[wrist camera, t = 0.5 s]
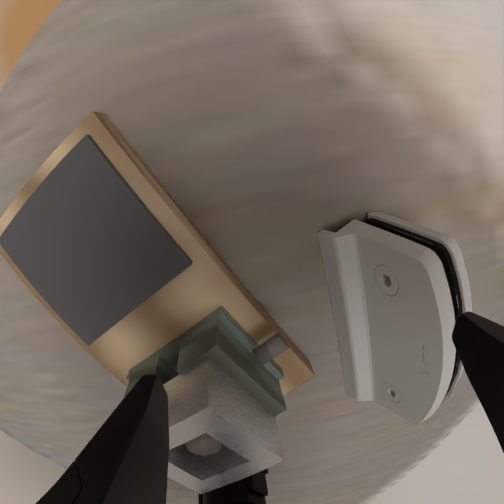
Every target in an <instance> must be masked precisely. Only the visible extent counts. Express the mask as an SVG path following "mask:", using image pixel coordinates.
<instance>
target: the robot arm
mask: <svg viewBox="0 0 504 504" xmlns="http://www.w3.org/2000/svg"><path fill="white" fill-rule="evenodd" d="M452 341H453V344H454V346H455V348H456V350H457V353H458V355H459V357H460V360H461V362H462V364H463V367H464V369H465V372H466V374H467V376H468V379H469V381H470V383H471V385H472V387H473V388H474V390H475V392H476V394H477V396H478V398H479V400H480V402H481V404H482V406H483V408H484V410H485V412H486V414H487V416H488V419H489V421H490V423H491V425H492V427H493V429H494V432H495V434H496V436H497V438H498V441H499V443H500V445H501V447H502V450H503V452H504V326H502V325H499V324H497V323H495V322H493V321H490V320H488V319H486V318H484V317H481V316H479V315H477V314H474V313H472V312H469V311H468V312H464V313H461V314H459V315H458V316H457V318H456V322H455V325H454V329H453V332H452ZM168 460H169V418H168V396H167V392H166V390H165V388H164V386H163V384H162V382H161V380H160V377H159V376H158V375H157V374H145V375H143V376H142V377H141V378H140V379H139V380H138V382H137V383H136V384H135V385H134V387H133V388H132V389H131V390H130V391H129V393H128V394H127V395H126V396H125V398H124V399H123V400H122V401H121V403H120V404H119V405H118V406H117V408H116V409H115V410H114V411H113V413H112V414H111V415H110V416H109V418H108V419H107V420H106V421H105V423H104V424H103V425H102V426H101V428H100V429H99V430H98V431H97V433H96V434H95V435H94V436H93V438H92V439H91V440H90V441H89V443H88V444H87V445H86V446H85V448H84V449H83V450H82V452H81V453H80V454H79V455H78V457H77V458H76V459H75V461H74V462H73V463H72V464H71V465H70V466H69V468H68V469H67V470H66V471H65V473H64V474H63V475H62V476H61V477H60V479H59V480H58V481H57V482H56V483H55V484H54V486H52V487H51V488H50V490H49V491H48V492H47V493H46V494H45V495H44V496H43V497H42V498H41V499H40V500H39V501H38V502H37V503H36V504H166V491H167V475H168ZM267 473H268V468H267V469H265V470H262V471H260V472H258V473H255V474H253V475H251V476H248V477H246V478H243V479H241V480H238V481H236V482H233V483H231V484H228V485H225V486H223V487H220V488H217V489H214V490H211V491H209V492H206V493H203V494H199V504H266V501H265V496H267V495H268V490H267V484H266V479H265V474H267Z"/></svg>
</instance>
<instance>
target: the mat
mask: <svg viewBox="0 0 504 504" xmlns="http://www.w3.org/2000/svg"><path fill="white" fill-rule="evenodd" d="M0 245H1V246H2V248H3V249H4V250H5V252H6V253H7V254H8V256H9V257H10V258H11V260H12V261H13V262H14V264H15V265H16V266H17V267H18V269H19V270H20V271H21V272H22V274H23V275H24V276H25V277H26V279H27V280H28V281H29V282H30V283H31V285H32V286H33V287H34V288H35V289H36V291H37V292H38V293H39V294H40V295H41V296H42V298H43V299H44V300H45V301H46V302H47V303H48V304H49V305H50V307H51V308H52V309H53V310H54V311H55V312H56V313H57V314H58V315H59V316H60V317H61V319H62V320H63V321H64V322H65V323H66V324H67V325H68V326H69V327H70V328H71V329H72V330H73V331H74V332H75V333H76V334H77V335H78V336H79V337H80V338H81V339H82V340H83V341H84V342H85V343H86V344H87V345H88V346H89V345H91V344H92V343H93V342H94V341H95V340H97V339H98V338H99V337H100V336H102V335H103V334H104V333H105V332H107V331H108V330H109V329H110V328H112V327H113V326H114V325H115V324H117V323H118V322H119V321H120V320H122V319H123V318H124V317H125V316H127V315H128V314H129V313H130V312H132V311H133V310H134V309H135V308H137V307H138V306H139V305H141V304H142V303H143V302H144V301H146V300H147V299H148V298H149V297H151V296H152V295H153V294H155V293H156V292H157V291H158V290H160V289H161V288H162V287H164V286H165V285H166V284H167V283H169V282H170V281H171V280H173V279H174V278H175V277H176V276H178V275H179V274H180V273H182V272H183V271H184V270H185V269H187V268H188V267H189V266H191V265H192V262H193V261H192V260H191V259H190V257H189V256H188V255H187V254H186V253H185V252H184V250H183V249H182V248H181V247H180V246H179V245H178V243H177V242H176V241H175V240H174V239H173V237H172V236H171V235H170V234H169V233H168V232H167V230H166V229H165V228H164V227H163V226H162V224H161V223H160V222H159V221H158V220H157V218H156V217H155V216H154V215H153V214H152V212H151V211H150V210H149V209H148V208H147V206H146V205H145V204H144V203H143V201H142V200H141V199H140V198H139V197H138V195H137V194H136V193H135V192H134V190H133V189H132V188H131V187H130V185H129V184H128V183H127V182H126V180H125V179H124V178H123V177H122V175H121V174H120V173H119V172H118V170H117V169H116V168H115V167H114V165H113V164H112V163H111V161H110V160H109V159H108V158H107V156H106V155H105V154H104V152H103V151H102V150H101V149H100V147H99V146H98V145H97V143H96V142H95V141H94V139H93V138H92V137H91V136H90V135H85V136H84V137H83V138H82V139H81V140H80V141H79V142H78V143H77V144H76V145H75V146H74V147H73V148H72V149H71V150H70V151H69V152H68V154H67V155H66V156H65V157H64V158H63V159H62V160H61V161H60V162H59V163H58V164H57V165H56V167H55V168H54V169H53V170H52V171H51V172H50V173H49V174H48V176H47V177H46V178H45V179H44V180H43V181H42V183H41V184H40V185H39V186H38V187H37V189H36V190H35V191H34V192H33V193H32V195H31V196H30V197H29V198H28V200H27V201H26V202H25V203H24V205H23V206H22V207H21V209H20V210H19V211H18V213H17V214H16V215H15V217H14V218H13V219H12V221H11V222H10V223H9V225H8V226H7V227H6V229H5V230H4V232H3V233H2V235H1V236H0Z"/></svg>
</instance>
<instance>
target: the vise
mask: <svg viewBox="0 0 504 504" xmlns="http://www.w3.org/2000/svg"><path fill="white" fill-rule="evenodd" d="M85 135H90V136H91V137H92V138H93V139H94V141H95V142H96V143H97V145H98V146H99V147H100V149H101V150H102V151H103V152H104V154H105V155H106V156H107V158H108V159H109V160H110V161H111V163H112V164H113V165H114V167H115V168H116V169H117V170H118V172H119V173H120V174H121V175H122V177H123V178H124V179H125V180H126V182H127V183H128V184H129V185H130V187H131V188H132V189H133V190H134V192H135V193H136V194H137V195H138V197H139V198H140V199H141V200H142V201H143V203H144V204H145V205H146V206H147V208H148V209H149V210H150V211H151V212H152V214H153V215H154V216H155V217H156V218H157V220H158V221H159V222H160V223H161V224H162V226H163V227H164V228H165V229H166V230H167V232H168V233H169V234H170V235H171V236H172V237H173V239H174V240H175V241H176V242H177V243H178V245H179V246H180V247H181V248H182V249H183V250H184V252H185V253H186V254H187V255H188V256H189V257H190V259H191V260H192V261H193V262H192V265H191V266H189V267H188V268H187V269H185V270H184V271H183V272H182V273H180V274H179V275H178V276H176V277H175V278H174V279H173V280H171V281H170V282H169V283H167V284H166V285H165V286H164V287H162V288H161V289H160V290H158V291H157V292H156V293H155V294H153V295H152V296H151V297H149V298H148V299H147V300H146V301H144V302H143V303H142V304H141V305H139V306H138V307H137V308H135V309H134V310H133V311H132V312H130V313H129V314H128V315H127V316H125V317H124V318H123V319H122V320H120V321H119V322H118V323H117V324H115V325H114V326H113V327H112V328H110V329H109V330H108V331H107V332H105V333H104V334H103V335H102V336H100V337H99V338H98V339H97V340H95V341H94V342H93V343H92V344H91V345H89V346H88V345H87V344H86V343H85V342H84V341H83V340H82V339H81V338H80V337H79V336H78V335H77V334H76V333H75V332H74V331H73V330H72V329H71V328H70V327H69V326H68V325H67V324H66V323H65V322H64V321H63V320H62V319H61V317H60V316H59V315H58V314H57V313H56V312H55V311H54V310H53V309H52V308H51V307H50V305H49V304H48V303H47V302H46V301H45V300H44V299H43V298H42V296H41V295H40V294H39V293H38V292H37V291H36V289H35V288H34V287H33V286H32V285H31V283H30V282H29V281H28V280H27V279H26V277H25V276H24V275H23V274H22V272H21V271H20V270H19V269H18V267H17V266H16V265H15V264H14V262H13V261H12V260H11V258H10V257H9V256H8V254H7V253H6V252H5V250H4V249H3V248H2V246H1V245H0V253H1V254H2V256H3V257H4V258H5V260H6V261H7V262H8V263H9V265H10V266H11V267H12V269H13V270H14V271H15V272H16V274H17V275H18V276H19V277H20V279H21V280H22V281H23V282H24V284H25V285H26V286H27V287H28V288H29V290H30V291H31V292H32V293H33V294H34V296H35V297H36V298H37V299H38V300H39V301H40V302H41V304H42V305H43V306H44V307H45V308H46V309H47V310H48V311H49V312H50V314H51V315H52V316H53V317H54V318H55V319H56V320H57V321H58V322H59V323H60V324H61V325H62V326H63V327H64V328H65V330H66V331H67V332H68V333H69V334H70V335H71V336H72V337H73V338H74V339H75V340H76V341H77V342H78V343H79V344H80V345H81V346H82V347H83V348H85V349H86V350H87V351H88V352H89V353H90V354H91V355H92V356H93V357H94V358H95V359H96V360H97V361H98V362H99V363H100V364H102V365H103V366H104V367H105V368H106V369H107V370H108V371H109V372H111V373H112V374H113V375H114V376H115V377H116V378H117V379H119V380H120V381H121V382H122V383H123V384H124V385H126V386H127V389H126V393H125V396H126V395H127V394H128V393H129V391H130V390H131V389H132V388H133V387H134V385H135V384H136V383H137V382H138V380H139V379H140V378H141V377H142V376H143V375H145V374H157V375H158V376H159V377H160V380H161V382H162V384H165V383H166V382H168V381H170V380H171V379H173V378H175V377H176V376H178V375H179V374H181V373H183V372H184V371H186V370H187V369H189V368H191V367H192V366H194V365H195V364H197V363H198V362H200V361H202V360H203V359H205V358H206V357H208V356H210V357H211V358H212V359H213V360H214V361H215V362H216V363H217V364H218V365H219V366H220V367H221V368H223V369H224V370H225V371H226V372H227V373H228V374H229V375H230V376H231V377H232V378H234V379H235V380H236V381H237V382H238V383H239V384H240V385H241V386H243V387H244V388H245V389H246V390H247V391H248V392H249V393H251V394H252V395H253V396H254V397H255V398H256V399H258V400H259V401H260V402H261V403H262V404H263V405H265V406H266V407H267V408H268V409H269V410H271V411H272V412H273V413H274V416H276V415H278V414H280V413H281V412H283V411H285V410H287V409H286V406H285V402H284V398H283V396H284V395H286V394H287V393H289V392H291V391H292V390H294V389H296V388H297V387H299V386H301V385H302V384H304V383H305V382H307V381H309V380H310V379H312V378H313V377H315V374H314V372H313V369H312V367H311V364H310V362H309V360H308V359H307V358H306V357H305V356H304V355H303V354H302V352H301V351H300V350H299V349H298V348H297V347H296V346H295V344H294V343H293V342H292V341H291V340H290V339H289V338H288V337H287V335H286V334H285V333H284V332H283V331H282V330H281V329H280V327H279V326H278V325H277V324H276V323H275V322H274V320H273V319H272V318H271V317H270V316H269V315H268V314H267V312H266V311H265V310H264V309H263V308H262V307H261V305H260V304H259V303H258V302H257V301H256V300H255V298H254V297H253V296H252V295H251V294H250V293H249V291H248V290H247V289H246V288H245V287H244V286H243V284H242V283H241V282H240V281H239V280H238V279H237V277H236V276H235V275H234V274H233V273H232V272H231V270H230V269H229V268H228V267H227V266H226V264H225V263H224V262H223V261H222V260H221V258H220V257H219V256H218V255H217V254H216V253H215V251H214V250H213V249H212V248H211V247H210V245H209V244H208V243H207V242H206V241H205V239H204V238H203V237H202V236H201V235H200V233H199V232H198V231H197V230H196V228H195V227H194V226H193V225H192V224H191V222H190V221H189V220H188V219H187V218H186V216H185V215H184V214H183V213H182V211H181V210H180V209H179V208H178V207H177V205H176V204H175V203H174V202H173V200H172V199H171V198H170V197H169V196H168V194H167V193H166V192H165V191H164V189H163V188H162V187H161V186H160V184H159V183H158V182H157V181H156V179H155V178H154V177H153V176H152V175H151V173H150V172H149V171H148V170H147V168H146V167H145V166H144V165H143V163H142V162H141V161H140V160H139V158H138V157H137V156H136V154H135V153H134V152H133V151H132V149H131V148H130V147H129V146H128V144H127V143H126V142H125V141H124V139H123V138H122V137H121V135H120V134H119V133H118V132H117V130H116V129H115V128H114V127H113V125H112V124H111V123H110V121H109V120H108V119H107V118H106V116H105V115H104V114H102V113H97V112H92V113H91V114H90V115H89V116H88V117H87V118H85V119H84V120H83V121H82V122H81V123H80V124H79V125H78V126H77V127H76V128H75V129H74V130H73V132H72V133H71V134H70V135H69V136H68V137H67V138H66V139H65V140H64V141H63V142H62V143H61V144H60V145H59V146H58V147H57V149H56V150H55V151H54V152H53V153H52V154H51V155H50V156H49V157H48V159H47V160H46V161H45V162H44V163H43V164H42V166H41V167H40V168H39V169H38V170H37V171H36V173H35V174H34V175H33V176H32V178H31V179H30V180H29V181H28V182H27V184H26V185H25V186H24V188H23V189H22V190H21V191H20V193H19V194H18V195H17V197H16V198H15V199H14V201H13V202H12V203H11V205H10V206H9V207H8V209H7V210H6V212H5V213H4V214H3V216H2V217H1V219H0V236H1V235H2V233H3V232H4V230H5V229H6V227H7V226H8V225H9V223H10V222H11V221H12V219H13V218H14V217H15V215H16V214H17V213H18V211H19V210H20V209H21V207H22V206H23V205H24V203H25V202H26V201H27V200H28V198H29V197H30V196H31V195H32V193H33V192H34V191H35V190H36V189H37V187H38V186H39V185H40V184H41V183H42V181H43V180H44V179H45V178H46V177H47V176H48V174H49V173H50V172H51V171H52V170H53V169H54V168H55V167H56V165H57V164H58V163H59V162H60V161H61V160H62V159H63V158H64V157H65V156H66V155H67V154H68V152H69V151H70V150H71V149H72V148H73V147H74V146H75V145H76V144H77V143H78V142H79V141H80V140H81V139H82V138H83V137H84V136H85ZM125 396H124V398H125ZM186 447H187V449H188V450H189V451H190V452H192V453H194V454H197V455H204V456H206V455H212V454H215V453H217V452H218V451H220V449H221V443H220V442H219V441H217V440H216V439H215V438H213V437H212V436H210V435H209V434H207V433H205V434H202V435H200V436H198V437H196V438H194V439H192V440H190V441H188V442H186Z"/></svg>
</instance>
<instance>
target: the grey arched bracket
mask: <svg viewBox="0 0 504 504" xmlns="http://www.w3.org/2000/svg"><path fill="white" fill-rule="evenodd" d="M367 215H368V219H367V223H364V222H361V221H358V220H355V219H354V220H352V221H351V222H350V223H348V224H347V225H346V226H344V227H343V228H342V229H340V230H339V231H338V232H336V233H335V232H331V231H327V230H322V231H320V232H318V233H317V236H318V240H319V245H320V249H321V254H322V259H323V263H324V268H325V273H326V278H327V283H328V288H329V293H330V298H331V304H332V309H333V314H334V320H335V326H336V331H337V337H338V343H339V349H340V355H341V361H342V368H343V374H344V381H345V388H346V393H348V394H349V395H350V396H352V397H353V398H354V399H355V400H357V401H370V400H373V401H376V402H377V403H379V404H381V405H382V406H384V407H386V408H387V409H389V410H391V411H393V412H394V413H396V414H398V415H399V416H401V417H403V418H404V419H406V420H408V421H410V422H411V423H413V424H420V423H422V422H423V421H425V420H426V419H427V418H429V417H430V416H432V415H433V414H434V412H435V411H436V410H437V408H438V407H440V406H442V404H443V403H444V402H445V401H446V400H447V398H448V397H449V395H450V394H451V392H452V391H453V389H454V387H455V385H456V384H457V382H458V380H459V378H460V376H461V374H462V372H463V369H464V367H463V364H462V362H461V360H460V357H459V355H458V353H457V350H456V348H455V346H454V344H453V341H452V332H453V329H454V325H455V322H456V318H457V316H458V315H459V314H461V313H464V312H468V311H469V312H472V303H471V294H470V287H469V281H468V276H467V272H466V268H465V264H464V261H463V257H462V254H461V251H460V248H459V245H458V244H457V242H456V241H455V240H454V239H453V238H452V237H450V236H448V235H446V234H443V233H440V232H438V231H435V230H432V229H429V228H427V227H424V226H421V225H418V224H415V223H412V222H410V221H407V220H404V219H401V218H398V217H395V216H392V215H389V214H386V213H383V212H370V213H367Z"/></svg>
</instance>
